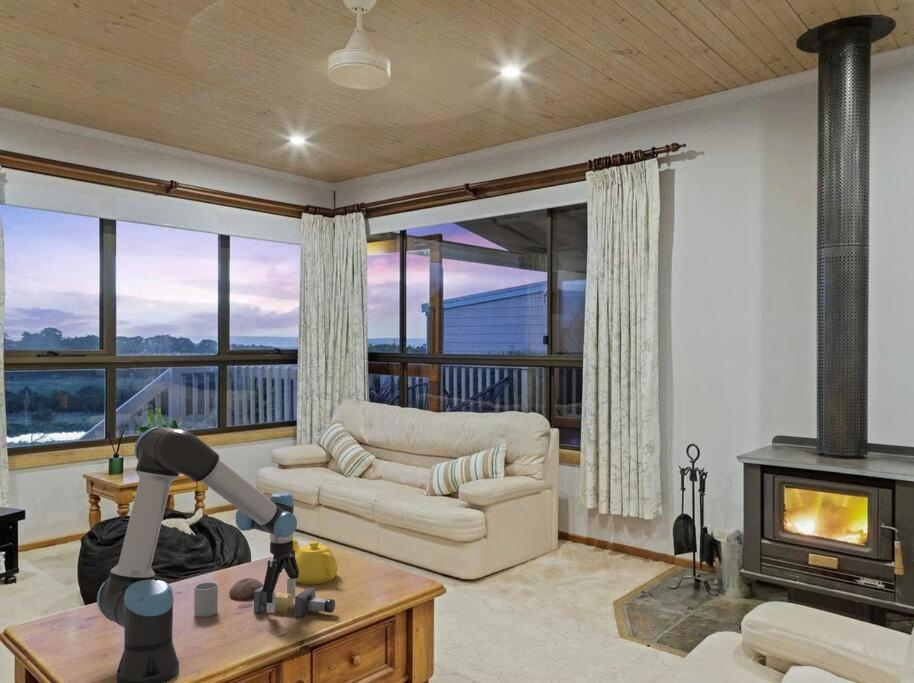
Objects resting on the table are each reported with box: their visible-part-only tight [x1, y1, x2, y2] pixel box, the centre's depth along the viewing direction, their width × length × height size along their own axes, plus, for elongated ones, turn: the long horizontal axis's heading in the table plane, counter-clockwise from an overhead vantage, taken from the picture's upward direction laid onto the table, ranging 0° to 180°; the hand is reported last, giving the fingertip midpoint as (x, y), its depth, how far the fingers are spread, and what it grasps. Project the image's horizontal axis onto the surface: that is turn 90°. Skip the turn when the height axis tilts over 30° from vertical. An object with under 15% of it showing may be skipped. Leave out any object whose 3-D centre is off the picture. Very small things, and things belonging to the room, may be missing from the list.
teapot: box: [292, 537, 339, 586], centre depth 262 cm, size 25×18×14 cm
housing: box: [253, 586, 316, 619], centre depth 228 cm, size 18×9×7 cm, turn 75°
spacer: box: [275, 591, 295, 614], centre depth 228 cm, size 4×6×5 cm, turn 75°
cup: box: [193, 581, 219, 618], centre depth 226 cm, size 7×10×9 cm
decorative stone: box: [229, 577, 264, 601], centre depth 243 cm, size 12×12×6 cm
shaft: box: [306, 597, 336, 614], centre depth 225 cm, size 12×4×4 cm, turn 75°
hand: (281, 605), depth 228 cm, fingers open, 13 cm apart
